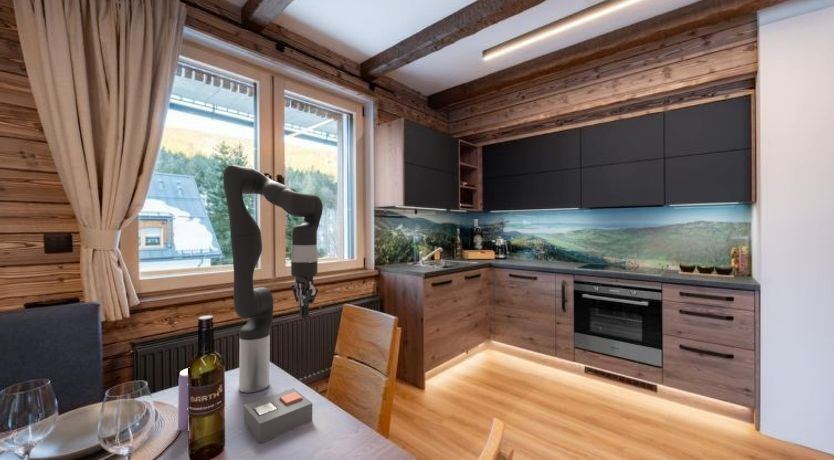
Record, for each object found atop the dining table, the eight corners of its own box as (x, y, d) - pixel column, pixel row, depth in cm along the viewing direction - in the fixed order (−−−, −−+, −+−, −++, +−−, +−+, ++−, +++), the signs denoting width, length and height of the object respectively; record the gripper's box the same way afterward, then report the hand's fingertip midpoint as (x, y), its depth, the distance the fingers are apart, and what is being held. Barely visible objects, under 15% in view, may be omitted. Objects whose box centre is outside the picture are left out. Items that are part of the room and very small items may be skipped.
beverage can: (191, 434, 85) (191, 376, 85) (172, 431, 87) (172, 374, 87) (210, 421, 91) (210, 367, 91) (192, 418, 92) (192, 365, 92)
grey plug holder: (243, 423, 90) (244, 405, 90) (293, 404, 100) (293, 388, 100) (259, 443, 82) (259, 423, 82) (312, 421, 91) (312, 403, 91)
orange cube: (279, 412, 93) (280, 396, 93) (294, 406, 96) (295, 391, 96) (286, 419, 90) (286, 402, 90) (301, 412, 93) (301, 397, 93)
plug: (253, 425, 88) (253, 408, 88) (270, 418, 91) (270, 402, 91) (259, 432, 85) (259, 415, 85) (276, 425, 88) (276, 408, 88)
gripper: (283, 259, 101) (282, 315, 101) (302, 262, 91) (302, 324, 91) (306, 257, 106) (305, 311, 106) (327, 260, 97) (326, 319, 97)
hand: (304, 317), depth 99 cm, fingers closed
